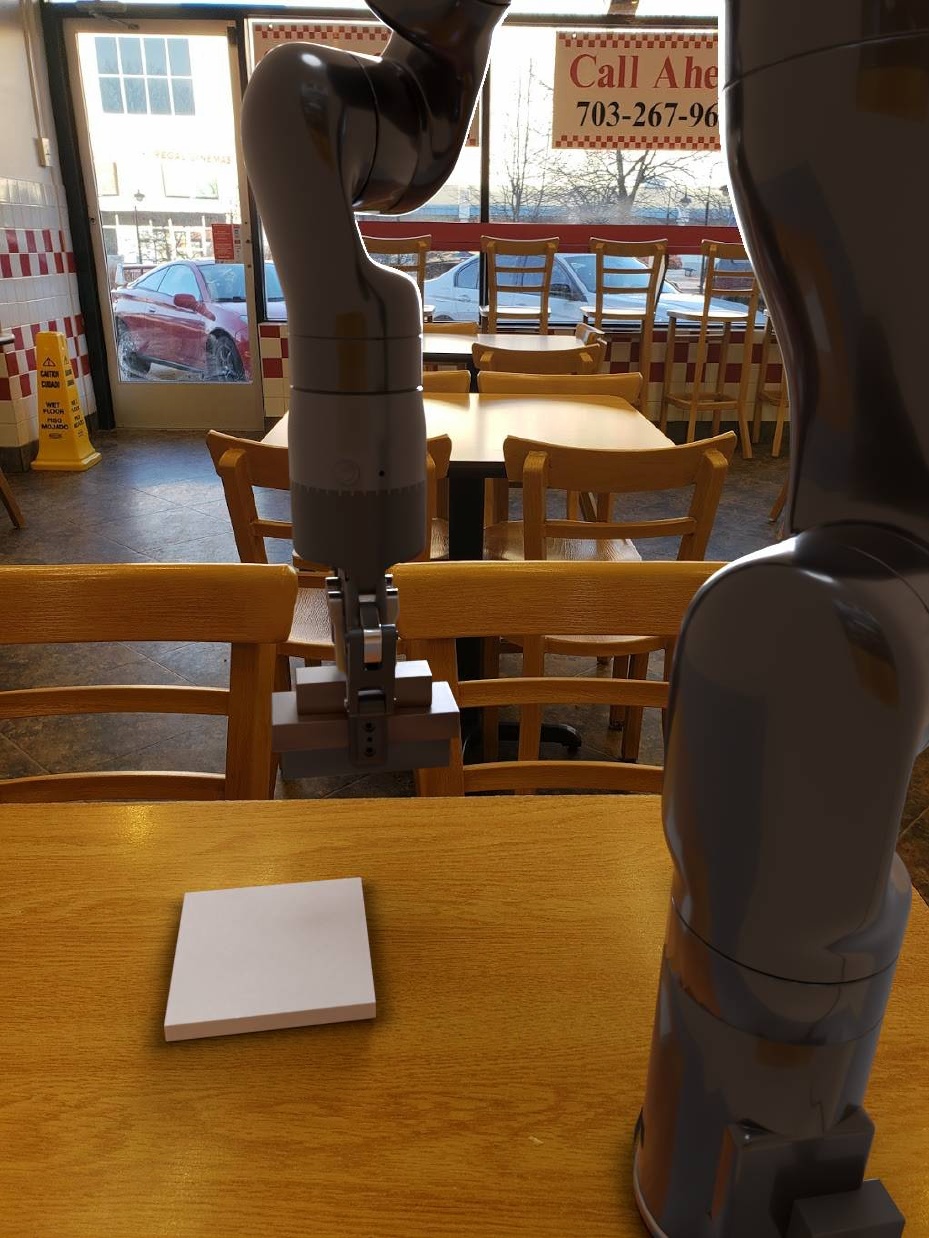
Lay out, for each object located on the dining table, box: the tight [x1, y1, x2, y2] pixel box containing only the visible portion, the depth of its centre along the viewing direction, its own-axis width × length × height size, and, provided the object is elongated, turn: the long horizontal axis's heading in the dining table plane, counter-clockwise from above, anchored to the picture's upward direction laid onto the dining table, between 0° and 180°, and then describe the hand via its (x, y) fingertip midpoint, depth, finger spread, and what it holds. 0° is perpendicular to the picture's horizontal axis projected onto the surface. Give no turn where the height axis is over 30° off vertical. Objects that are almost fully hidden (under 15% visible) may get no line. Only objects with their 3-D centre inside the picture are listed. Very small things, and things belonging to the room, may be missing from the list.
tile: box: [163, 877, 377, 1042], centre depth 60 cm, size 12×12×1 cm
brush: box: [270, 660, 461, 781], centre depth 57 cm, size 11×4×6 cm, turn 101°
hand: (364, 743), depth 58 cm, fingers closed on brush, 4 cm apart
